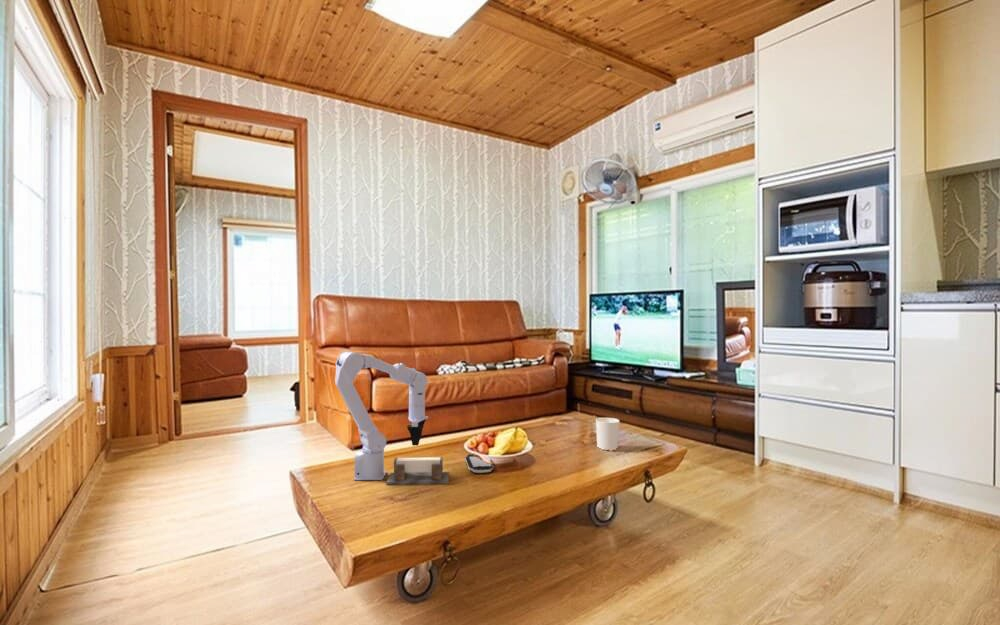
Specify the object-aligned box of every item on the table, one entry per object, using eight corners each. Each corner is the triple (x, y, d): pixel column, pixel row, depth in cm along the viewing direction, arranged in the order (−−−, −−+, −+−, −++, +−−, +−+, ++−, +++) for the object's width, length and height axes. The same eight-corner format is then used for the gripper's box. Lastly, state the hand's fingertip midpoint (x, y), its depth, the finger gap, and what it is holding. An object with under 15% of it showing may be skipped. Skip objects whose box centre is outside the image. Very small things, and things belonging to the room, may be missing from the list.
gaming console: (463, 459, 183) (463, 453, 183) (486, 458, 185) (486, 451, 185) (470, 476, 164) (470, 469, 164) (495, 474, 166) (495, 467, 166)
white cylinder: (592, 445, 202) (592, 417, 202) (614, 445, 203) (614, 417, 203) (599, 452, 192) (599, 422, 192) (622, 451, 194) (623, 422, 194)
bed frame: (386, 485, 154) (386, 466, 154) (390, 475, 163) (390, 458, 163) (448, 483, 156) (448, 465, 156) (448, 474, 165) (449, 457, 165)
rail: (393, 472, 157) (394, 460, 157) (395, 469, 160) (395, 457, 160) (442, 471, 158) (442, 459, 158) (442, 468, 162) (442, 457, 162)
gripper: (426, 408, 164) (426, 447, 164) (429, 400, 179) (429, 436, 179) (405, 408, 164) (405, 447, 164) (410, 400, 178) (410, 436, 178)
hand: (416, 442), depth 171 cm, fingers open, 7 cm apart
